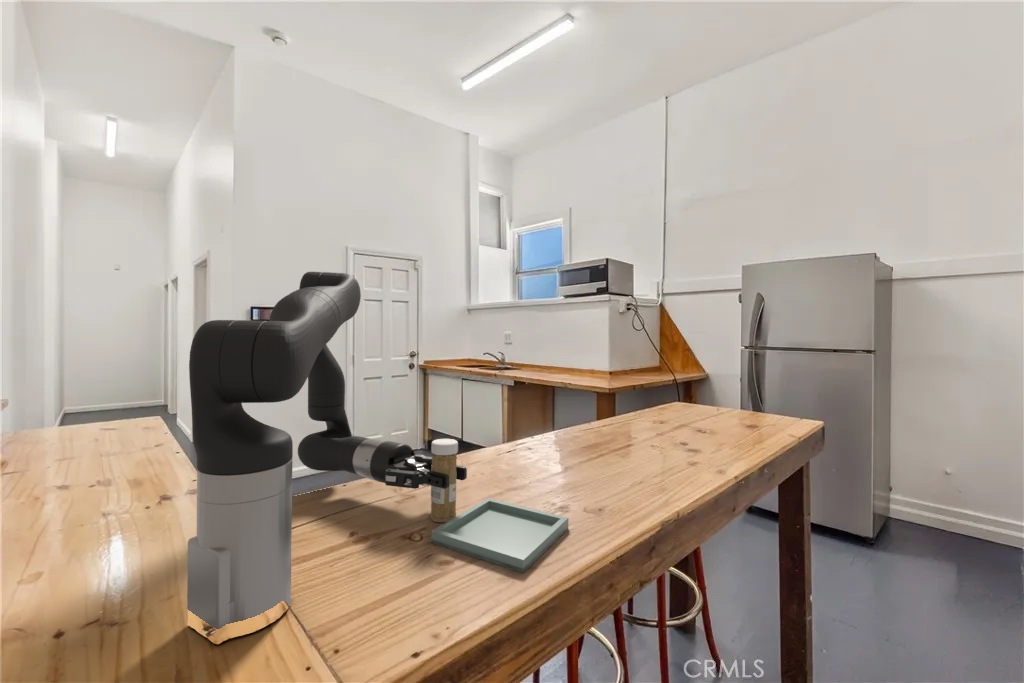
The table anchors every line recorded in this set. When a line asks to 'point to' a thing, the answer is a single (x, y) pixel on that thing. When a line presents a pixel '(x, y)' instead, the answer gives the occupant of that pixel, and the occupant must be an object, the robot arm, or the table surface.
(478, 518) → the tray
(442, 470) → the spice jar
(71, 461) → the table surface
